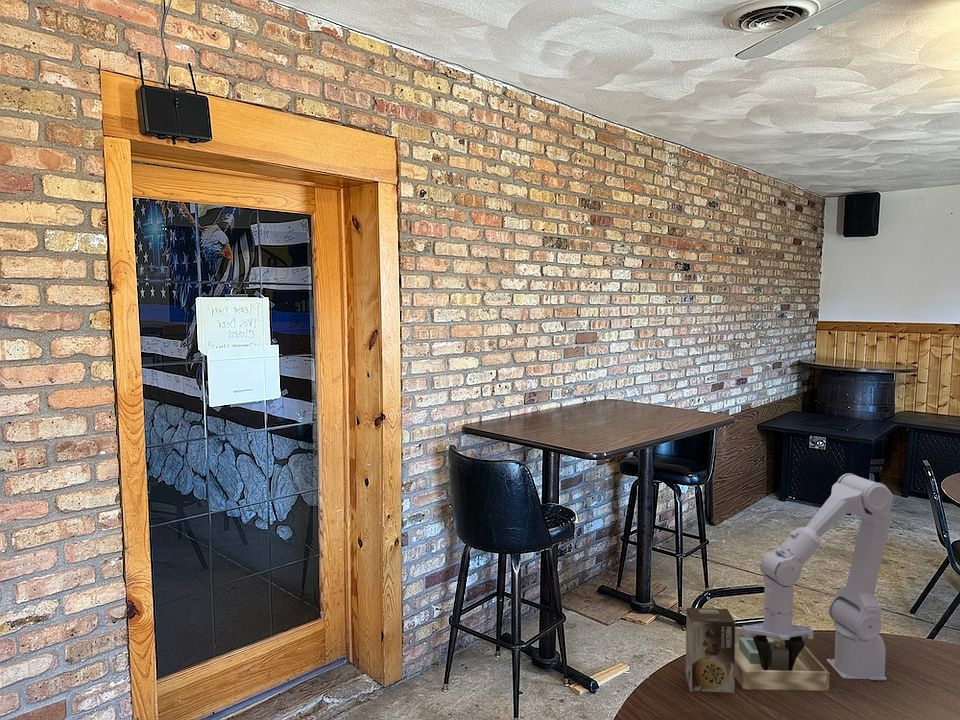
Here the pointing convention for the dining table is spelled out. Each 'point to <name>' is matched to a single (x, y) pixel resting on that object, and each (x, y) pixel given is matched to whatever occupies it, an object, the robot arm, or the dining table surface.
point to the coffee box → (710, 650)
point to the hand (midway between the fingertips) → (776, 668)
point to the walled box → (780, 672)
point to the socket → (750, 649)
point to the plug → (778, 656)
